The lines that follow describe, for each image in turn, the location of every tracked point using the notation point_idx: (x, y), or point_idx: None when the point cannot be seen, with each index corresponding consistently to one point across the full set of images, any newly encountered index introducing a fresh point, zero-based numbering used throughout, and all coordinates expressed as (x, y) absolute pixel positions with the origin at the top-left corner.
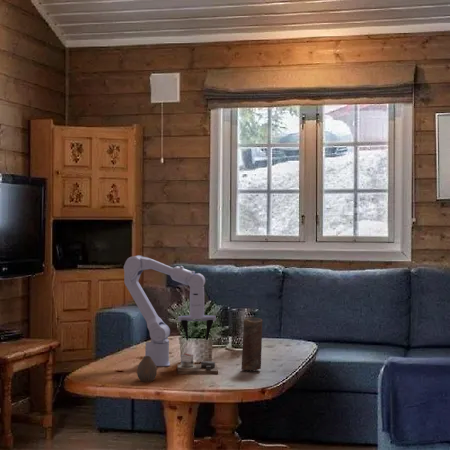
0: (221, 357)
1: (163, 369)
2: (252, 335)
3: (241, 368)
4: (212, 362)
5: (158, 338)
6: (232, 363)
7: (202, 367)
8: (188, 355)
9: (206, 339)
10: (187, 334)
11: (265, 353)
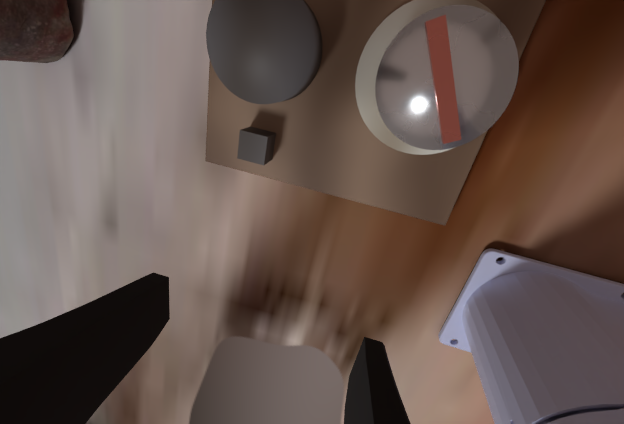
0: (173, 370)
1: (579, 162)
2: None
3: (67, 9)
4: (226, 25)
5: None
6: (133, 245)
7: (317, 22)
8: (446, 36)
9: (163, 278)
10: (376, 395)
11: None
